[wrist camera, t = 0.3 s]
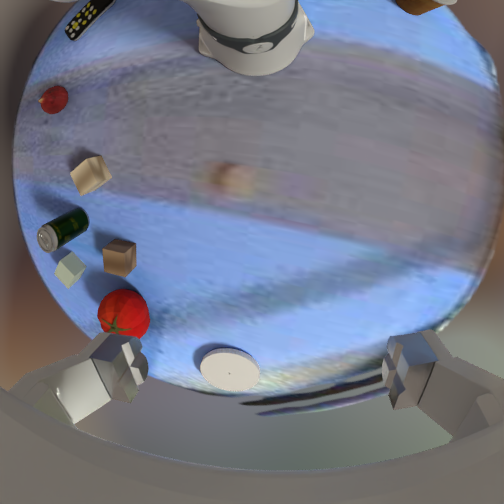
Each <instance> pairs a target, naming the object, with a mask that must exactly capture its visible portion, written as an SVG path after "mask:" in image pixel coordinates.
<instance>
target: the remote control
mask: <svg viewBox="0 0 504 504" xmlns="http://www.w3.org/2000/svg"><path fill="white" fill-rule="evenodd" d="M115 1H116V0H90V1H89V2H88V3H87V4H86V5H85V6H84V7H83V8H82V9H81V11H80V12H79V13H78V14H77V15H76V16H75V17H74V18H73V19H72V20H71V21H70V23H69V24H68V25H67V26H66V28H65V33H66V34H67V35H68V37H69V38H70V39H71V40H73V41H77V40H78V39H79V38H80V37H81V36H82V35H83V34H84V33H85V32H86V31H87V30H88V29H89V28H90V27H91V26H92V25H93V24H94V22H95V21H96V20H97V19H98V18H99V17H100V16H101V15H103V14H104V13H105V12H106V11H107V10H108V9H109V8H110V7H111V6H112V5H113V4H114V3H115Z"/></svg>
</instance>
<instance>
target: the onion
mask: <svg viewBox="0 0 504 504" xmlns="http://www.w3.org/2000/svg"><path fill="white" fill-rule="evenodd" d="M38 102H40V103H41V107H42V109H43V110H44V111H45V112H47V113H49V114H56V113H58V112H60V111H61V110H62V109H64V107H65V106H66V104H67V102H68V92H67V91H66V89H65V88H64V87H60V86H54V87H51V88H49V89H48V90H47V91H46V92H45V93H44V94H43V95H42V97H41V99H39V101H38Z"/></svg>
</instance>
